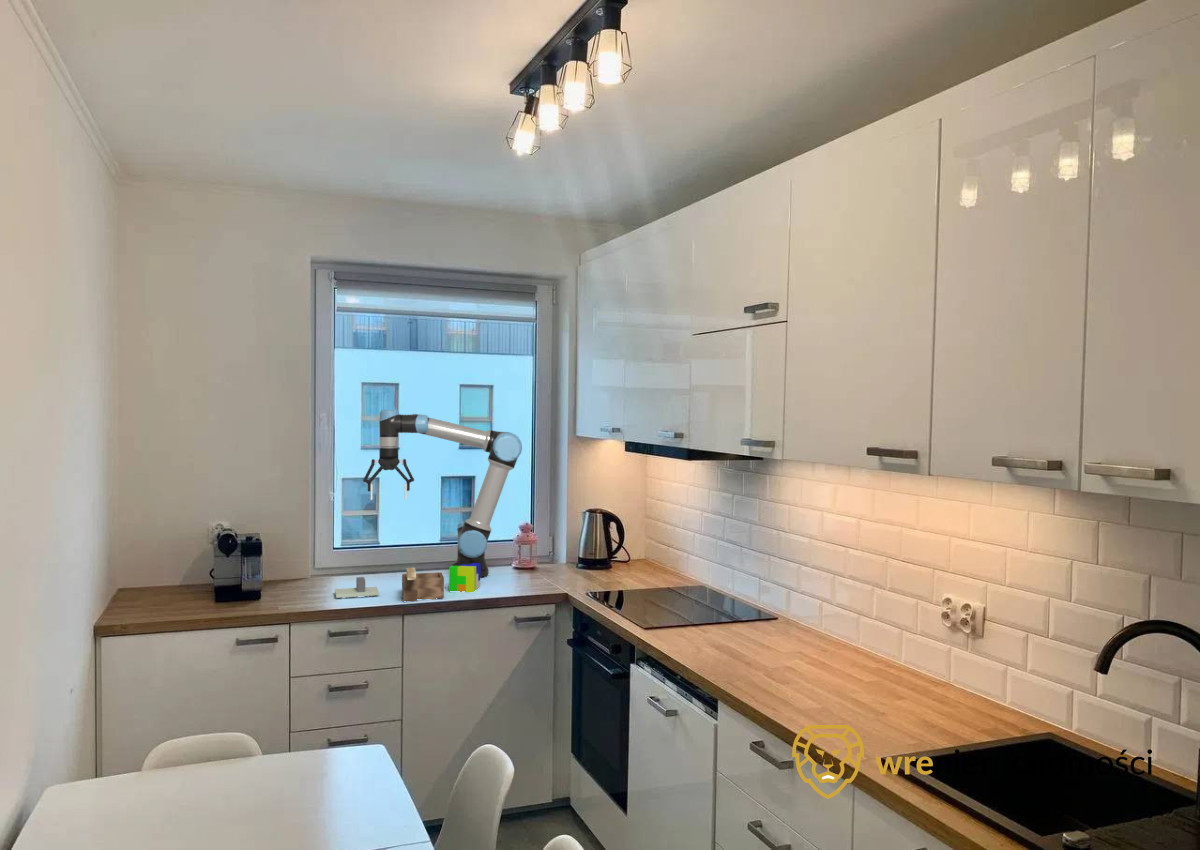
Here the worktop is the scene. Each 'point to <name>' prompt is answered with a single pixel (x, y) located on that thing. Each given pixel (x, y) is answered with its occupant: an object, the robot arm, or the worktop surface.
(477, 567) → the puzzle toy
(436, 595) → the box
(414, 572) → the light wooden block
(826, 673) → the worktop surface
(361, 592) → the lid
